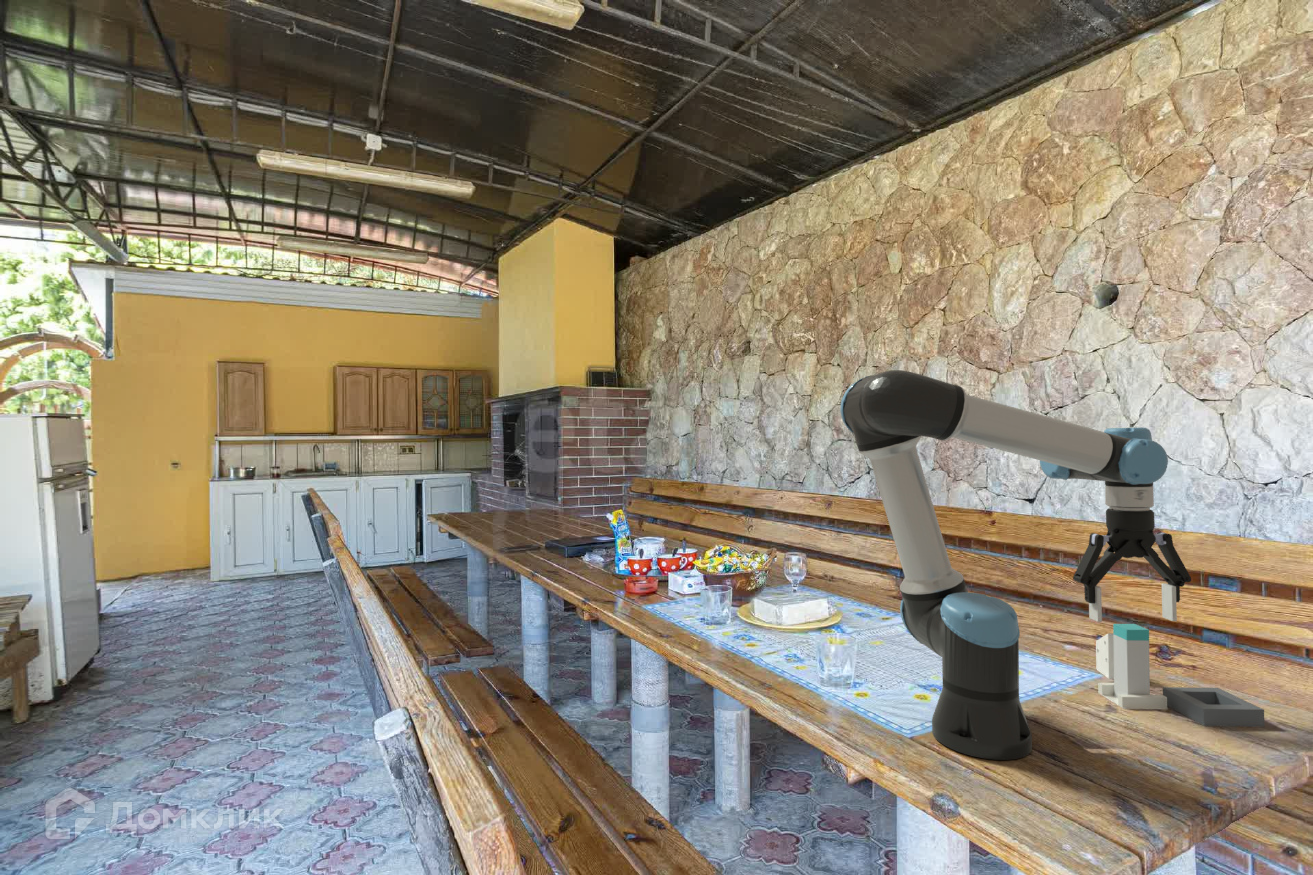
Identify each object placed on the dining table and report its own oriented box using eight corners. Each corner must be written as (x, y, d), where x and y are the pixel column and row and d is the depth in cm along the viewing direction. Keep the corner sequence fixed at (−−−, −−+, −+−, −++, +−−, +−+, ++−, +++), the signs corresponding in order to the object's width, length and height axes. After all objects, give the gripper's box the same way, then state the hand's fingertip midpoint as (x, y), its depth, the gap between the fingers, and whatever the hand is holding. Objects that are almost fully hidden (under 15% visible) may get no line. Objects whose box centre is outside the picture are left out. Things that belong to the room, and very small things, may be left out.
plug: (1127, 704, 124) (1126, 629, 124) (1114, 696, 128) (1113, 623, 128) (1150, 704, 123) (1149, 629, 123) (1135, 696, 127) (1134, 623, 127)
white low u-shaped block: (1123, 711, 122) (1123, 697, 122) (1097, 695, 130) (1097, 681, 130) (1168, 712, 121) (1168, 698, 121) (1139, 695, 129) (1139, 682, 129)
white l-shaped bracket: (1118, 677, 133) (1108, 633, 137) (1099, 686, 141) (1089, 644, 145) (1139, 678, 132) (1127, 634, 136) (1118, 687, 140) (1108, 645, 145)
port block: (1203, 729, 114) (1203, 709, 114) (1161, 705, 124) (1160, 686, 124) (1266, 730, 114) (1266, 709, 114) (1218, 705, 124) (1218, 687, 124)
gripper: (1073, 511, 123) (1076, 625, 122) (1213, 509, 121) (1216, 624, 121) (1051, 507, 130) (1054, 614, 130) (1182, 504, 129) (1185, 613, 129)
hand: (1132, 619), depth 126 cm, fingers open, 13 cm apart
